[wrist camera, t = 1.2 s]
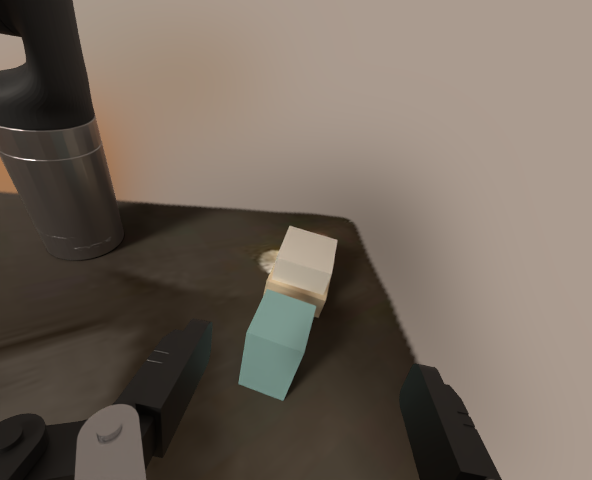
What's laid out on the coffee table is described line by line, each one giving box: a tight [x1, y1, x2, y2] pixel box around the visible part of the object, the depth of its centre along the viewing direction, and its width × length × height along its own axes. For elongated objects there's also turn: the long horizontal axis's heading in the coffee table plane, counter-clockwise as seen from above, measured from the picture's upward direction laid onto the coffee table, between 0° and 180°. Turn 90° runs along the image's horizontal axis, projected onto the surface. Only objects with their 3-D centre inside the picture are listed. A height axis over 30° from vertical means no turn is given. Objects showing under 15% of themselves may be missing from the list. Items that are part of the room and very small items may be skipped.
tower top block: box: [272, 226, 337, 295], centre depth 37 cm, size 7×7×4 cm
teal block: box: [239, 289, 316, 401], centre depth 28 cm, size 5×5×10 cm
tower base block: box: [264, 264, 334, 318], centre depth 40 cm, size 8×8×4 cm
